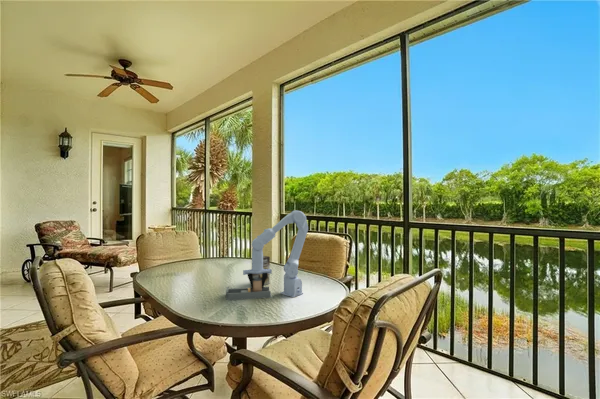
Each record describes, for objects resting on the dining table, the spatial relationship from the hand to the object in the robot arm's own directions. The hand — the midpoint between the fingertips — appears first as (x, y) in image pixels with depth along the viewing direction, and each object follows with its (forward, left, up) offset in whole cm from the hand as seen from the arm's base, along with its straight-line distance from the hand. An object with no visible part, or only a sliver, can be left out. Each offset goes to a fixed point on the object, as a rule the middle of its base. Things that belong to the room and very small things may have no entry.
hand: (257, 287), depth 154 cm
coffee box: (+14, -14, -4) cm, 20 cm away
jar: (0, 0, -2) cm, 2 cm away
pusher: (+3, +5, -3) cm, 6 cm away
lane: (+3, +4, -4) cm, 6 cm away
